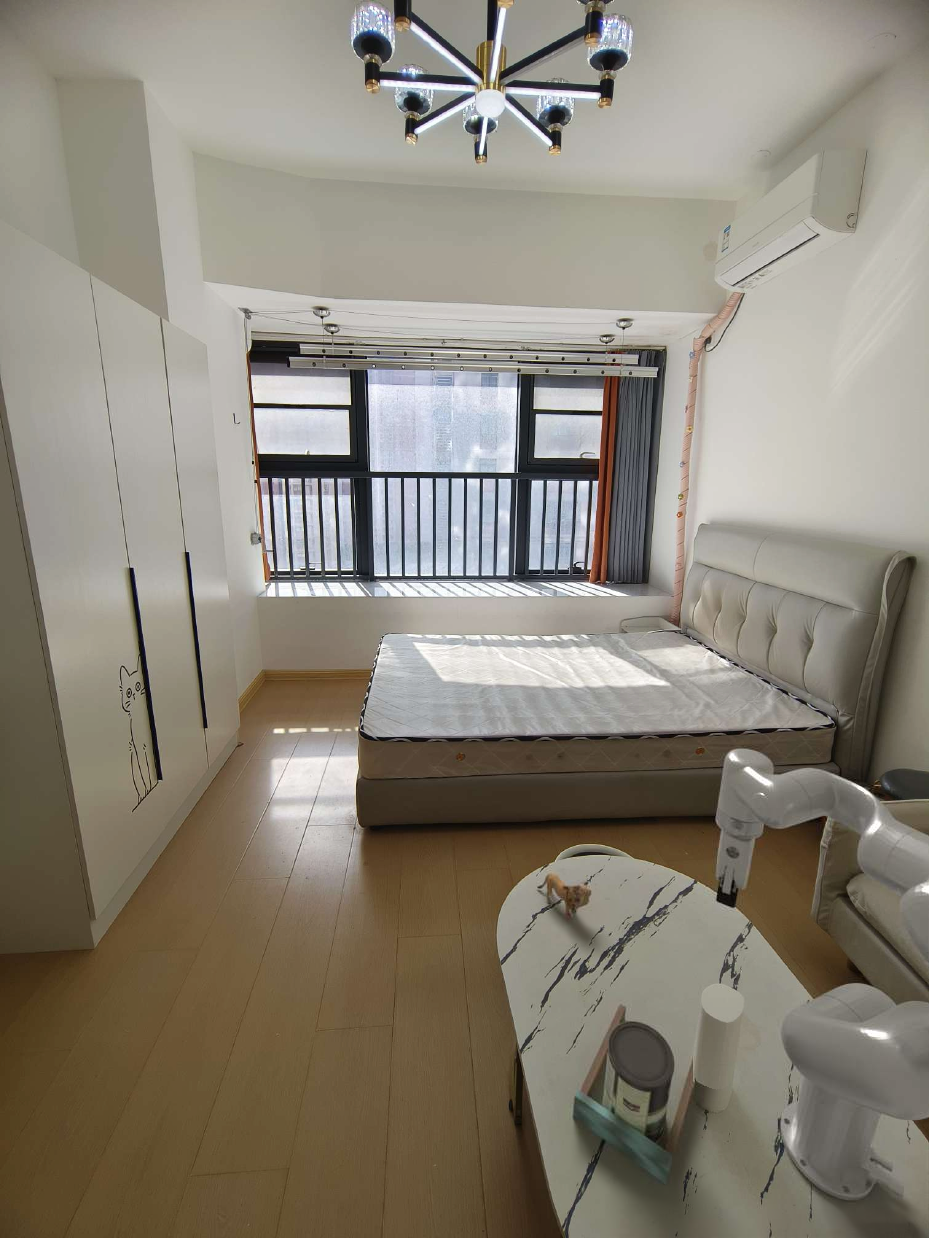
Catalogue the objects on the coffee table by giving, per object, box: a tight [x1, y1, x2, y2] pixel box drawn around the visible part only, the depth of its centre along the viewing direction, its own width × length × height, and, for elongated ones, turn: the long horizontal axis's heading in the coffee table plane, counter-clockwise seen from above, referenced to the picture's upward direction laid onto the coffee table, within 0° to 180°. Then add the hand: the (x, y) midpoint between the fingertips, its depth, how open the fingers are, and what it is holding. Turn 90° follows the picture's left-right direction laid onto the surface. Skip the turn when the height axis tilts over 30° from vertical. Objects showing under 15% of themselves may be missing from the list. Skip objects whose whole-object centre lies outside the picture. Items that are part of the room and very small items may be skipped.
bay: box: [572, 1003, 694, 1185], centre depth 95 cm, size 15×21×5 cm
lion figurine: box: [536, 872, 592, 919], centre depth 133 cm, size 15×5×9 cm, turn 47°
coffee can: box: [601, 1020, 675, 1145], centre depth 90 cm, size 10×10×14 cm
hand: (725, 901), depth 101 cm, fingers closed
